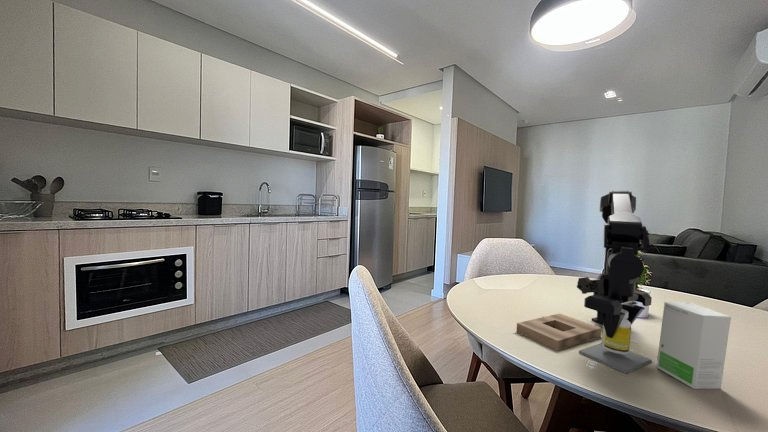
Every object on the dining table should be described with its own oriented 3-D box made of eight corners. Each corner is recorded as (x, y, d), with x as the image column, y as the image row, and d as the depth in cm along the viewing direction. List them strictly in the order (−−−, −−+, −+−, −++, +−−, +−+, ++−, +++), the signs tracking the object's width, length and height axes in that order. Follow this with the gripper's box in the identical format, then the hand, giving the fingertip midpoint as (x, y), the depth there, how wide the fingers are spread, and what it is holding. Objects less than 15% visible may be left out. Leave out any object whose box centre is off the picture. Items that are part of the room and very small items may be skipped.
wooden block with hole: (559, 321, 96) (559, 313, 96) (600, 336, 85) (601, 328, 85) (516, 331, 87) (517, 323, 86) (557, 350, 76) (557, 340, 76)
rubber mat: (604, 343, 81) (605, 341, 81) (651, 361, 72) (651, 359, 72) (578, 352, 75) (579, 350, 75) (626, 373, 66) (626, 370, 66)
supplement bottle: (634, 356, 70) (637, 315, 70) (608, 353, 71) (611, 312, 71) (621, 345, 76) (624, 307, 75) (597, 343, 77) (599, 305, 76)
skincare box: (655, 367, 69) (660, 300, 69) (681, 367, 70) (687, 301, 69) (696, 390, 61) (702, 314, 60) (725, 390, 62) (732, 314, 61)
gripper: (604, 262, 84) (600, 317, 85) (564, 267, 75) (560, 328, 76) (654, 271, 74) (649, 333, 75) (615, 278, 66) (609, 348, 66)
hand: (616, 335), depth 73 cm, fingers closed on supplement bottle, 5 cm apart
